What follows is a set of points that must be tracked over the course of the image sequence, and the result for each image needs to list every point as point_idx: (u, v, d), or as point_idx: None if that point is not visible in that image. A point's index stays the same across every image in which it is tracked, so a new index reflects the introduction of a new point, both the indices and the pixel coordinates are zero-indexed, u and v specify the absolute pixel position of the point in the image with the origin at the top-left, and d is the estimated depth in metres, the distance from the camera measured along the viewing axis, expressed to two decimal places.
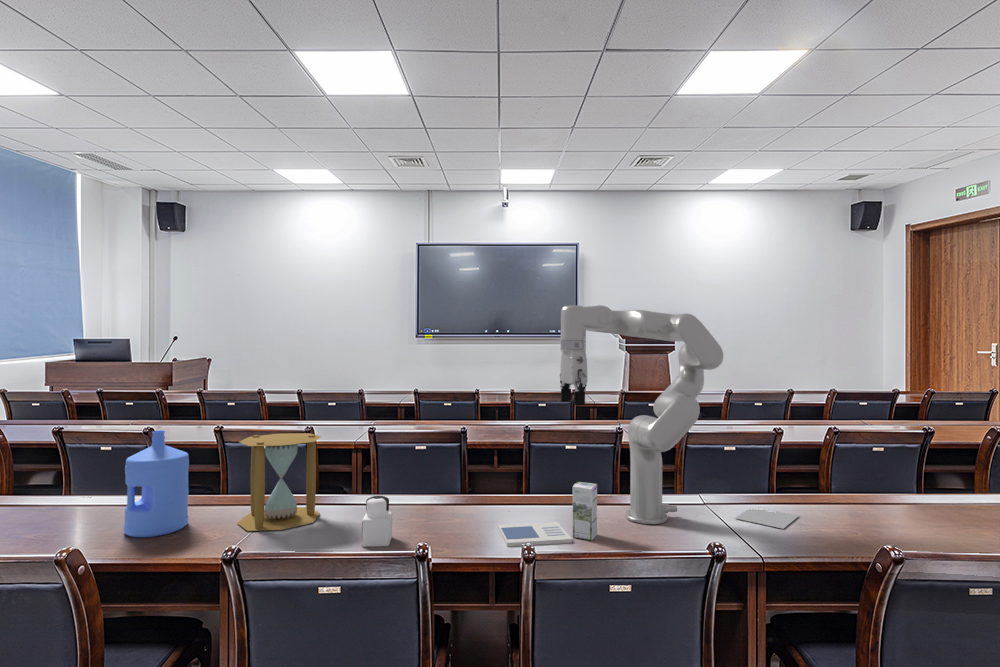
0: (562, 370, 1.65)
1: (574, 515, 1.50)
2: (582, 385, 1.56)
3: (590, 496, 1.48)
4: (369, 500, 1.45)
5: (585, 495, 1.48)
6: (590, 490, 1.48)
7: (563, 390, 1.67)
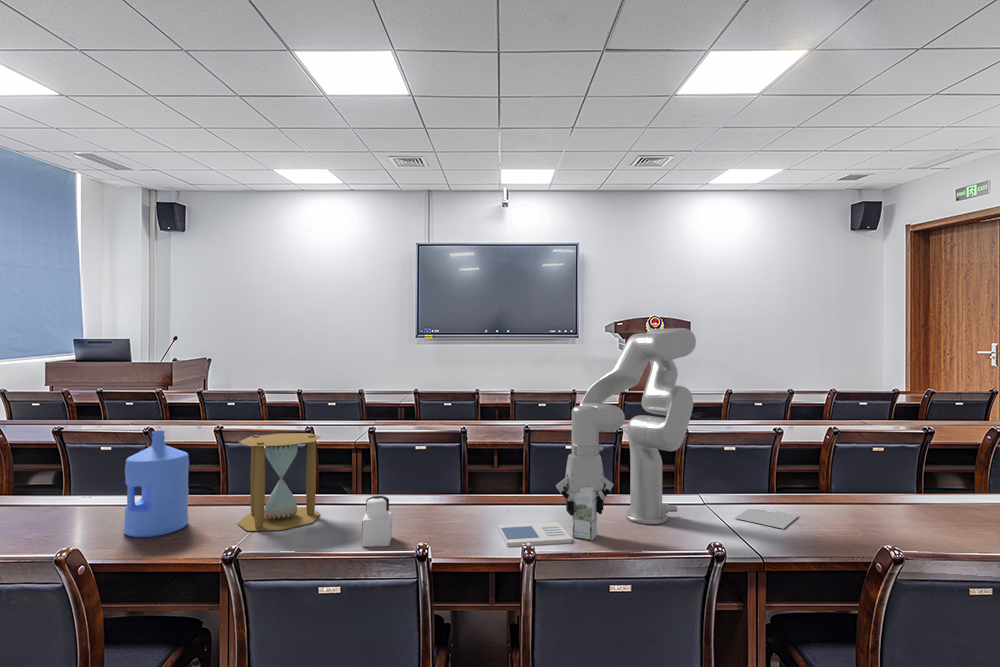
0: (579, 478, 1.49)
1: (574, 515, 1.50)
2: None
3: (590, 496, 1.48)
4: (369, 500, 1.45)
5: (585, 495, 1.48)
6: (590, 490, 1.48)
7: None
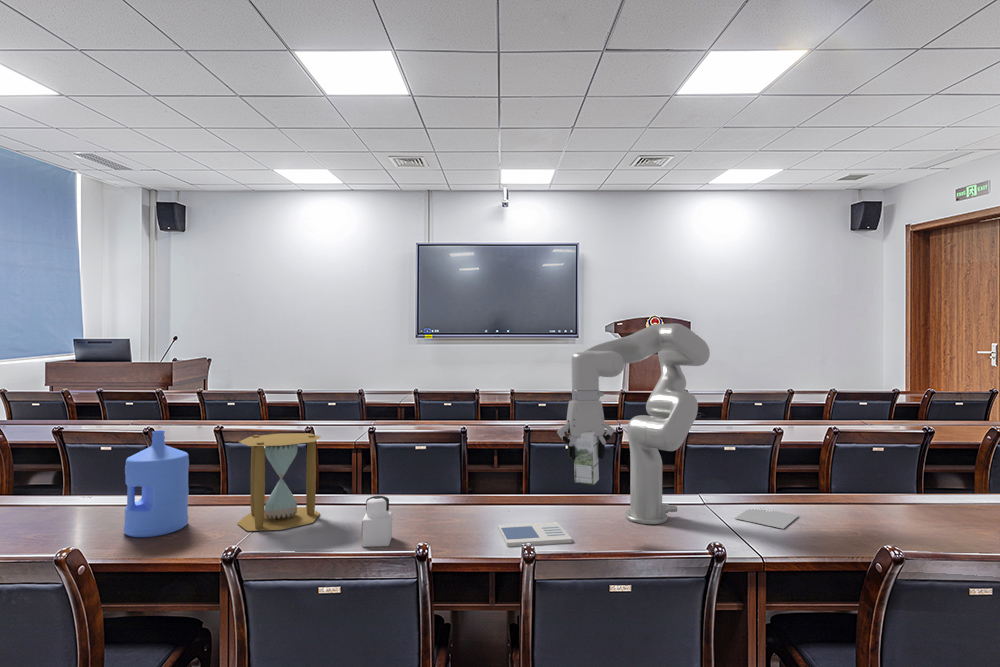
0: (580, 423, 1.49)
1: (576, 460, 1.50)
2: None
3: (591, 440, 1.48)
4: (369, 500, 1.45)
5: (586, 440, 1.49)
6: (591, 434, 1.48)
7: None
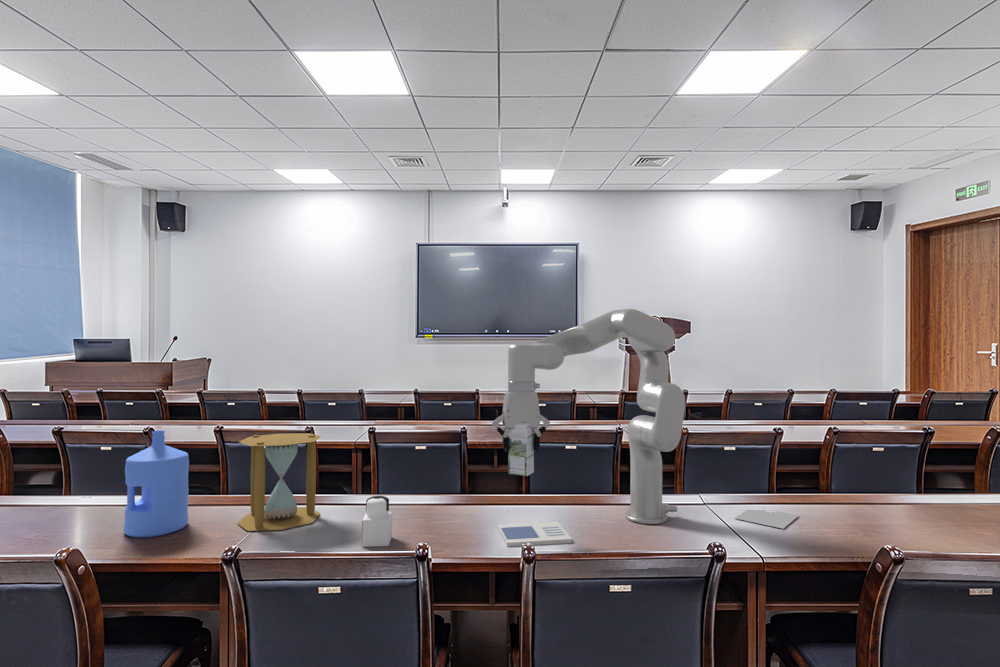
0: (514, 415, 1.49)
1: (510, 451, 1.50)
2: None
3: (525, 432, 1.48)
4: (369, 500, 1.45)
5: (520, 431, 1.49)
6: (525, 426, 1.48)
7: (508, 439, 1.50)
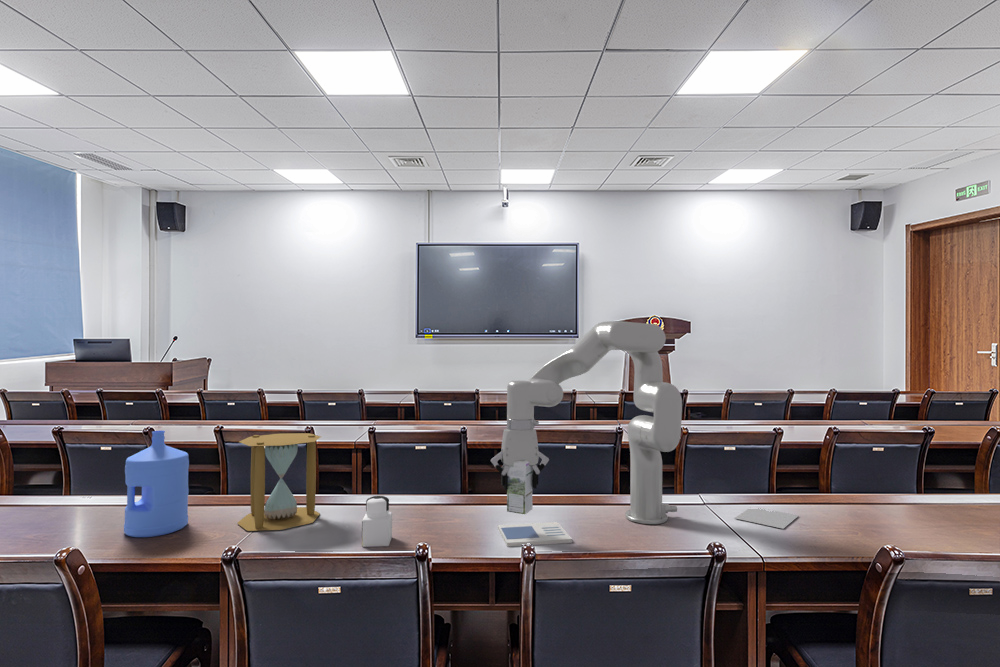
0: (513, 452, 1.49)
1: (508, 489, 1.50)
2: None
3: (523, 470, 1.48)
4: (369, 500, 1.45)
5: (519, 469, 1.48)
6: (523, 464, 1.48)
7: None
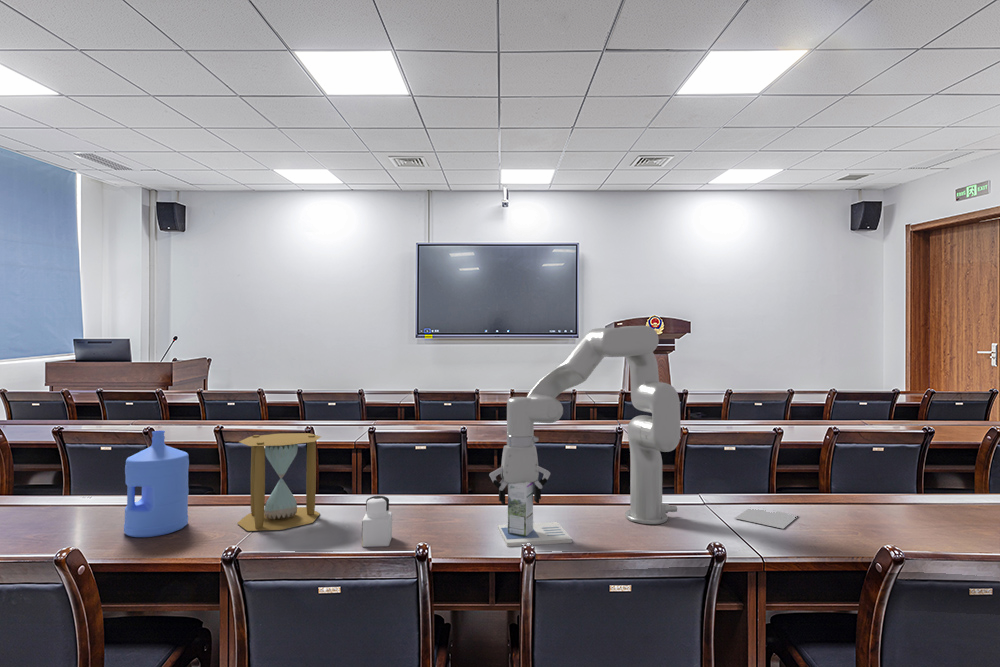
0: (513, 469, 1.49)
1: (509, 511, 1.50)
2: None
3: (524, 491, 1.48)
4: (369, 500, 1.45)
5: (519, 490, 1.48)
6: (524, 485, 1.48)
7: None
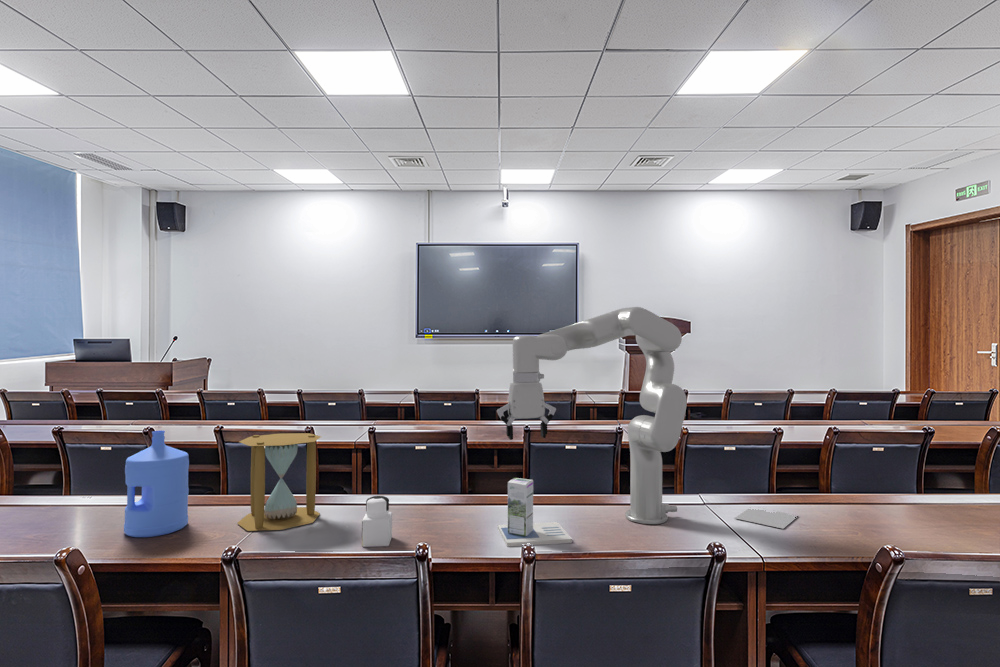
0: (520, 405, 1.52)
1: (509, 511, 1.50)
2: None
3: (524, 492, 1.48)
4: (369, 500, 1.45)
5: (519, 491, 1.48)
6: (524, 486, 1.48)
7: (512, 427, 1.53)
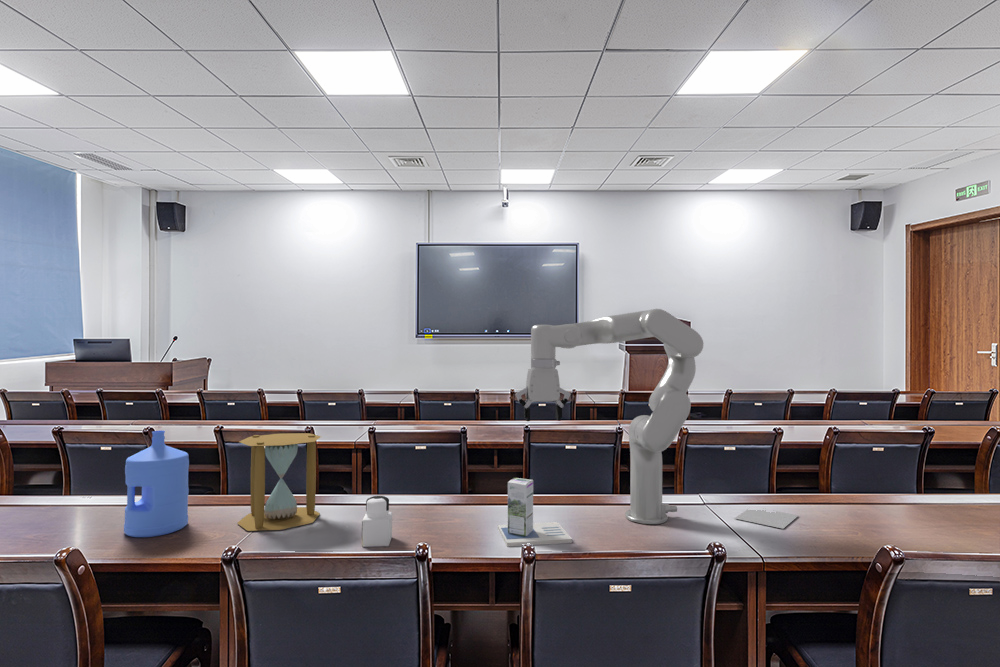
0: (537, 389, 1.64)
1: (509, 511, 1.50)
2: None
3: (524, 492, 1.48)
4: (369, 500, 1.45)
5: (519, 491, 1.48)
6: (524, 486, 1.48)
7: (529, 409, 1.64)
